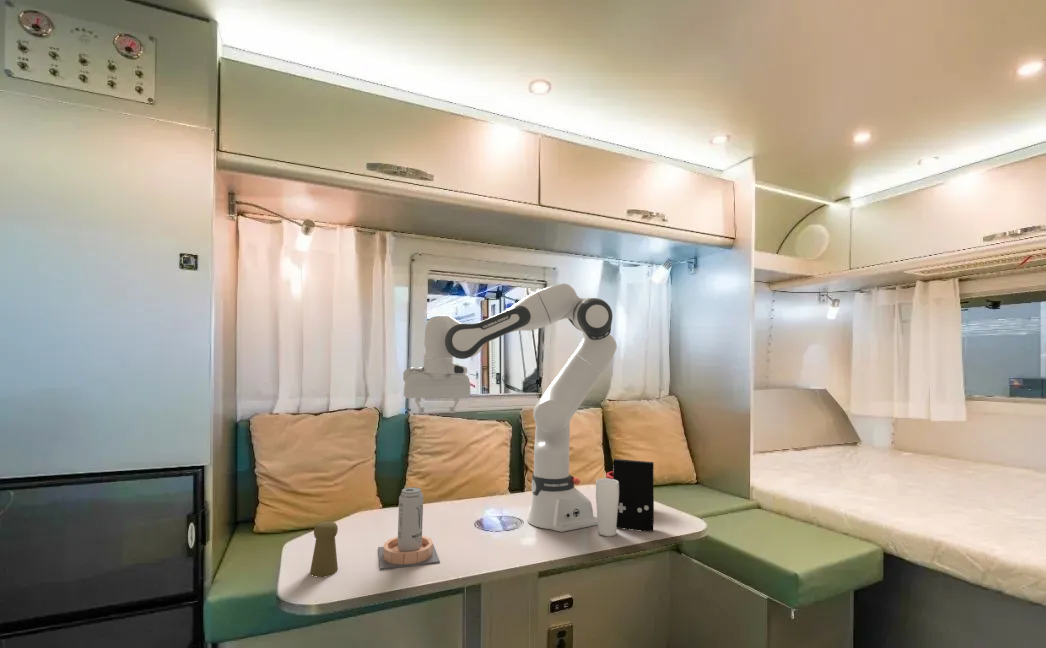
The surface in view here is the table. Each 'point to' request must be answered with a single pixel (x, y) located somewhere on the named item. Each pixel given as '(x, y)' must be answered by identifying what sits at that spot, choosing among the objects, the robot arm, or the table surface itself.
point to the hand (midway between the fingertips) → (436, 413)
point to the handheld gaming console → (635, 494)
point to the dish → (406, 555)
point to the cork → (324, 550)
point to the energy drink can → (410, 519)
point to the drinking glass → (607, 505)
